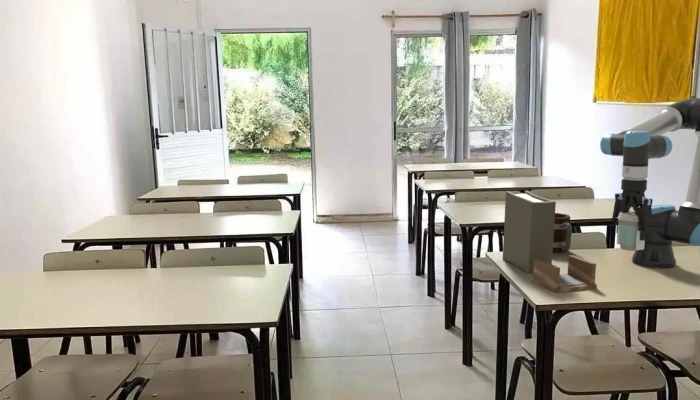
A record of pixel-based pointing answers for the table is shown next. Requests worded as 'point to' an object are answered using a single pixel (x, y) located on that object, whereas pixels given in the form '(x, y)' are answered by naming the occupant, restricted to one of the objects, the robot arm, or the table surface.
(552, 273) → the holder
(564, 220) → the mug
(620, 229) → the coffee cup
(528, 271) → the book
